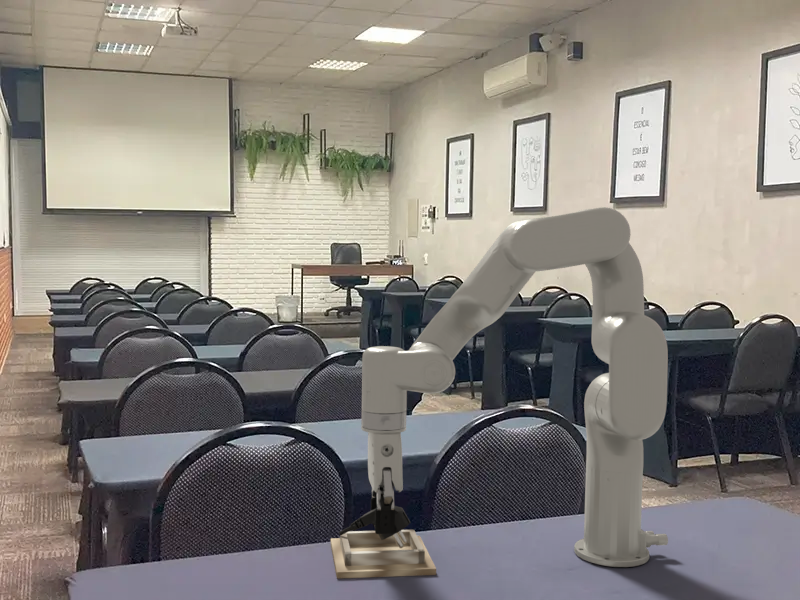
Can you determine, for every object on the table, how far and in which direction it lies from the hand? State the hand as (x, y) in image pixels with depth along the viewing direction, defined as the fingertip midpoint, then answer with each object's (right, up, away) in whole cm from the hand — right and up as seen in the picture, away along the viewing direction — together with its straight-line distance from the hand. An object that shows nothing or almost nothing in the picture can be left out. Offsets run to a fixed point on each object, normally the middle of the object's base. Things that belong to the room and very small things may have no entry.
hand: (382, 525), depth 143 cm
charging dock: (0, -6, 0) cm, 6 cm away
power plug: (-2, -3, +1) cm, 4 cm away
